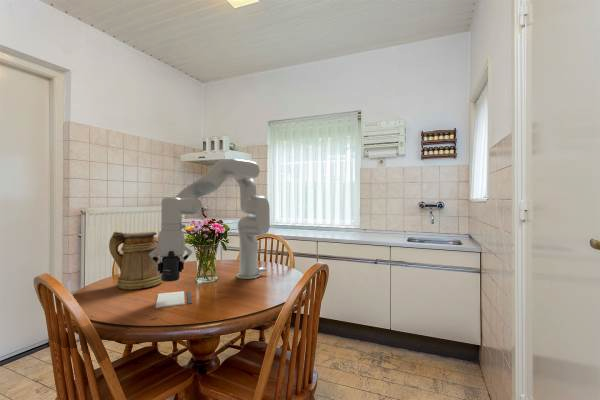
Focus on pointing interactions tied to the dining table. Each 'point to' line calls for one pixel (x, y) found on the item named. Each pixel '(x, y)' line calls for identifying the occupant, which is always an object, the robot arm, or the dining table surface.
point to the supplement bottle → (170, 267)
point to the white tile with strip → (172, 299)
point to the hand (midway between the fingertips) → (170, 271)
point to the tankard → (135, 259)
